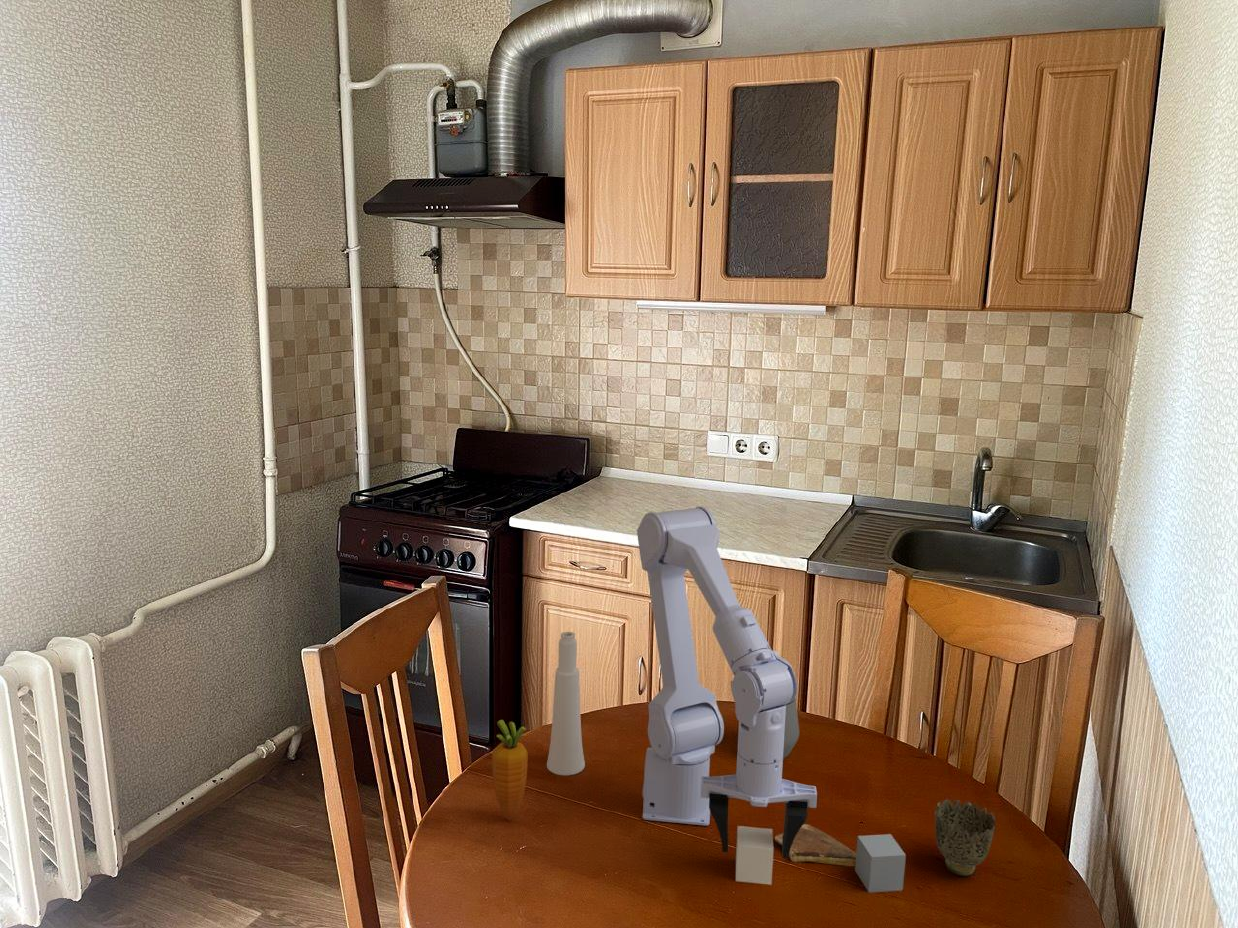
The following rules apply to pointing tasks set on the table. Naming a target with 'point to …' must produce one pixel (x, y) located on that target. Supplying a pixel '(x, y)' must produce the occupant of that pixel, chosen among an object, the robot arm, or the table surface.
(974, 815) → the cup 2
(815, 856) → the shard
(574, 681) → the cosmetic bottle
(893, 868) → the slate block
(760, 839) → the cream block
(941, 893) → the table surface
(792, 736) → the cup
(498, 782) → the carrot
